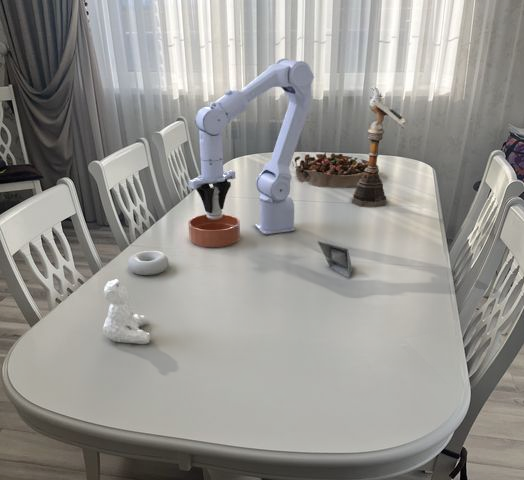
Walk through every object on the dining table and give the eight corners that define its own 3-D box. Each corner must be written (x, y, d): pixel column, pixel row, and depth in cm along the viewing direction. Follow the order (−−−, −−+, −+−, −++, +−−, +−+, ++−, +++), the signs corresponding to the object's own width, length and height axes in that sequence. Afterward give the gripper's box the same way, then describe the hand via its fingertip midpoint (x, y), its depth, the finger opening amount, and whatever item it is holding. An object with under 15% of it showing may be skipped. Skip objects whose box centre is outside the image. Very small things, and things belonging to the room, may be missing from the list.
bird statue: (400, 196, 187) (415, 83, 168) (402, 208, 176) (419, 88, 157) (351, 194, 189) (361, 82, 170) (350, 205, 178) (360, 87, 159)
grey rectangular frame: (368, 265, 135) (353, 268, 127) (351, 283, 138) (335, 287, 130) (336, 230, 137) (320, 232, 130) (320, 249, 141) (303, 251, 133)
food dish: (295, 164, 228) (296, 145, 224) (375, 168, 224) (378, 148, 220) (286, 185, 198) (287, 162, 194) (379, 190, 194) (382, 167, 190)
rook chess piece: (206, 215, 151) (204, 185, 147) (222, 214, 152) (221, 185, 147) (206, 220, 148) (204, 190, 143) (223, 219, 148) (221, 190, 144)
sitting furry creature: (151, 344, 106) (144, 288, 99) (105, 351, 104) (95, 294, 97) (146, 321, 113) (138, 268, 107) (103, 327, 111) (93, 273, 105)
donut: (157, 280, 131) (176, 263, 139) (155, 267, 129) (175, 251, 137) (120, 274, 133) (141, 258, 141) (118, 261, 132) (139, 246, 139)
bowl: (231, 228, 161) (230, 211, 158) (246, 244, 150) (246, 227, 147) (184, 233, 157) (183, 216, 154) (196, 251, 146) (195, 233, 143)
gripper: (199, 166, 135) (203, 220, 142) (242, 156, 143) (243, 207, 150) (182, 161, 139) (186, 213, 146) (224, 152, 147) (226, 202, 155)
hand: (214, 210), depth 149 cm, fingers closed on rook chess piece, 3 cm apart
